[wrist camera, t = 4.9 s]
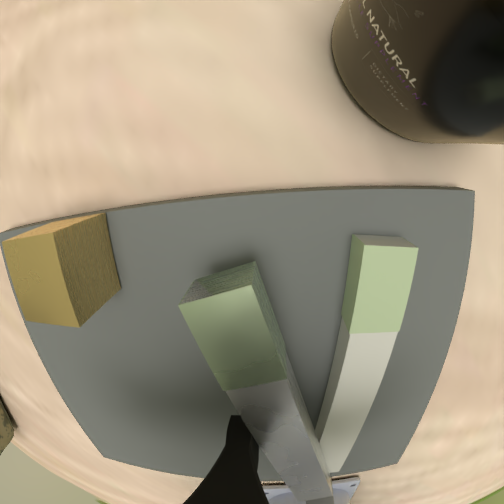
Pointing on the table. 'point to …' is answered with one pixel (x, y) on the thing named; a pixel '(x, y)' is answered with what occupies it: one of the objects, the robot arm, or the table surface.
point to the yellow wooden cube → (63, 270)
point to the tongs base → (287, 315)
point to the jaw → (257, 373)
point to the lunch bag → (5, 428)
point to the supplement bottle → (425, 66)
